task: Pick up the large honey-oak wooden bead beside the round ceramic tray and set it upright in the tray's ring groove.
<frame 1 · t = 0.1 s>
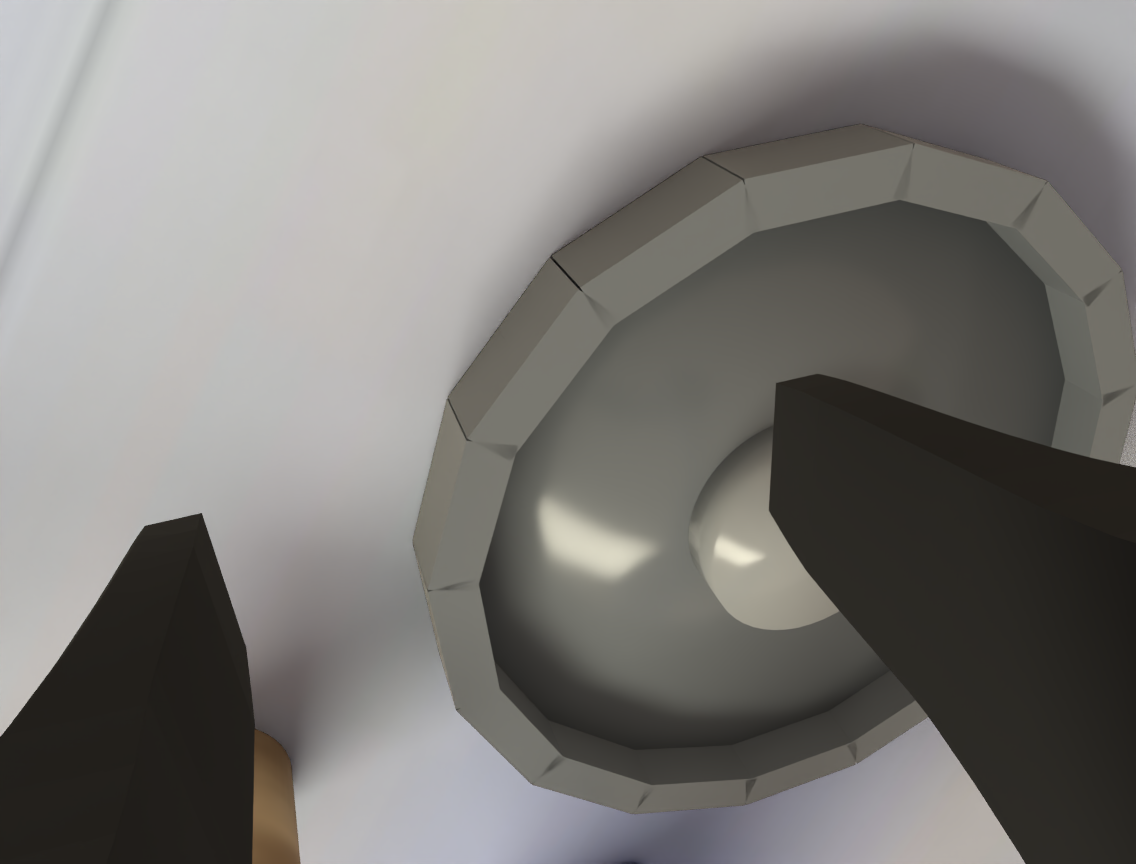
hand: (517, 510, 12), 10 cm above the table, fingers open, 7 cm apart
oak bead: (206, 784, 25), on the table
round tray: (776, 499, 27), on the table
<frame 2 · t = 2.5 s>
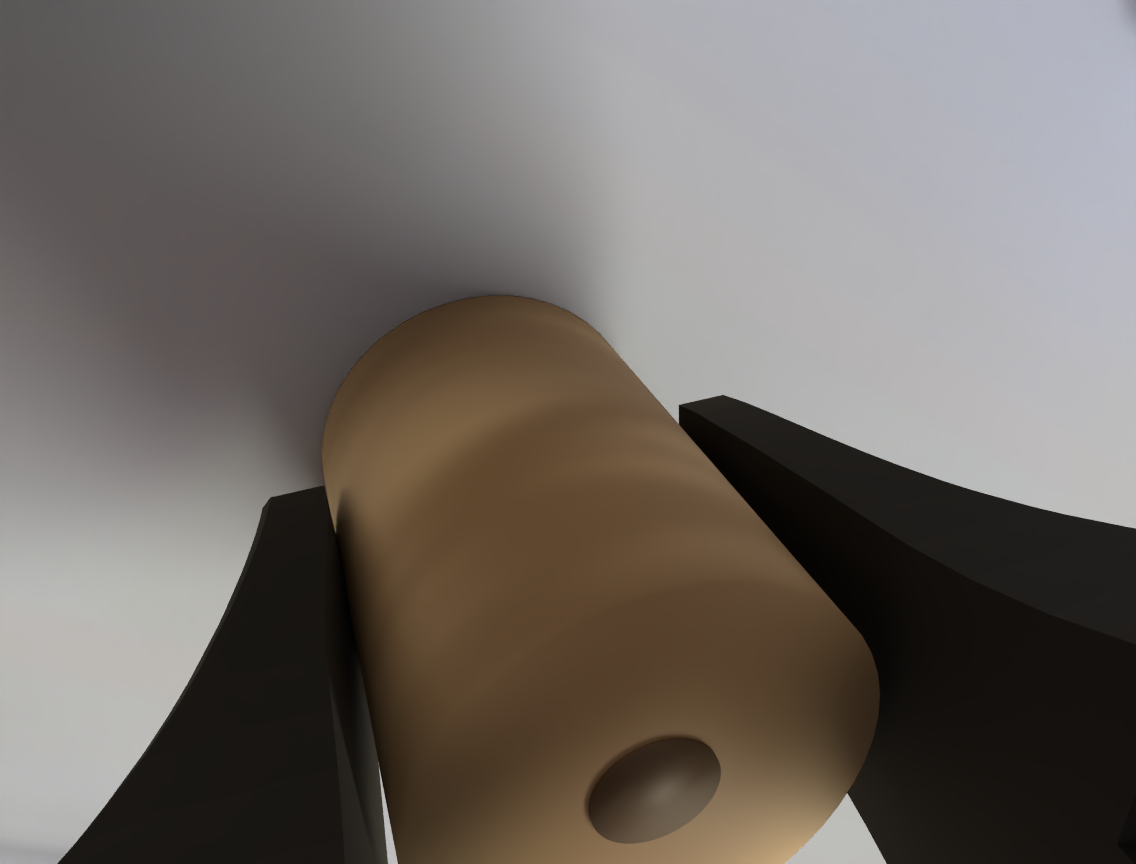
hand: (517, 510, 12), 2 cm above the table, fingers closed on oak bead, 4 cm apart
oak bead: (485, 446, 13), on the table, touching gripper
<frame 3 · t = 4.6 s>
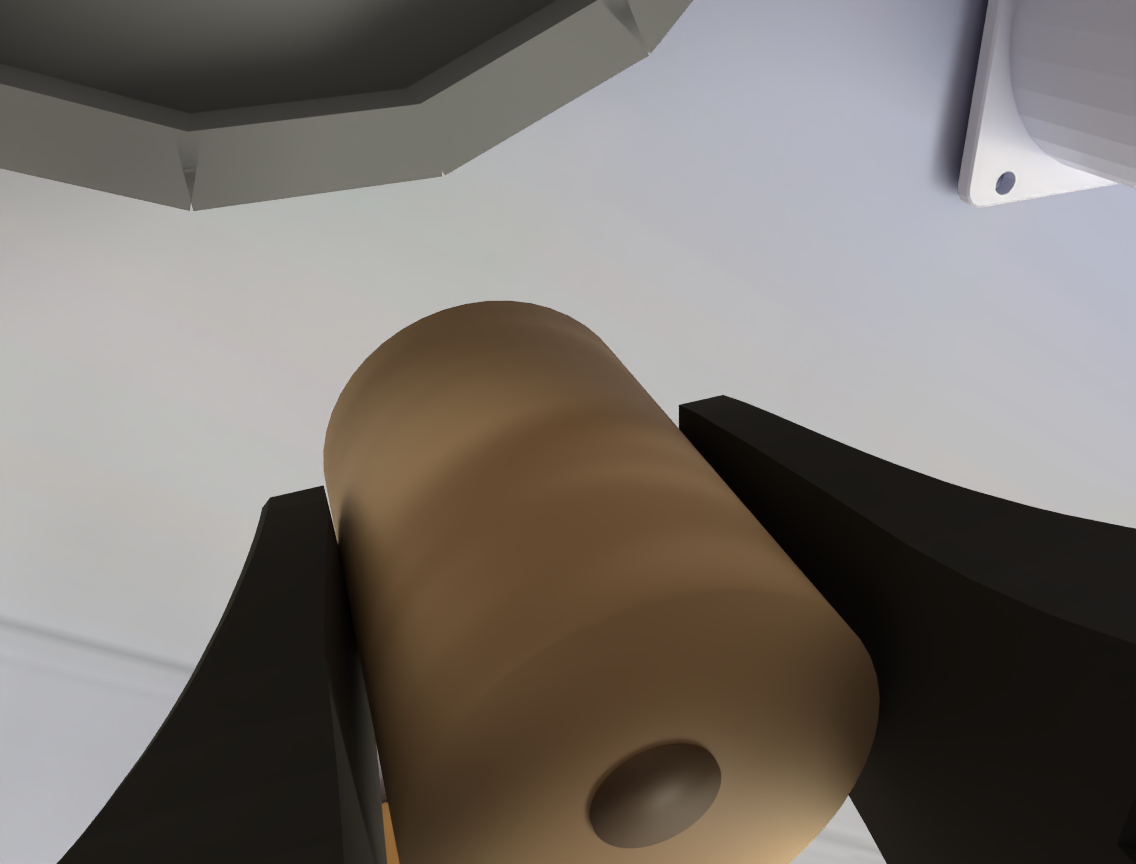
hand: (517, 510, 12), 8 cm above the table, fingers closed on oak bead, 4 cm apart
oak bead: (486, 450, 13), point 7 cm above the table, touching gripper
figurine: (401, 832, 27), on the table
when the fingers open (4 cm above the table, at t = 7.1 s): oak bead drops 2 cm, resting on round tray.
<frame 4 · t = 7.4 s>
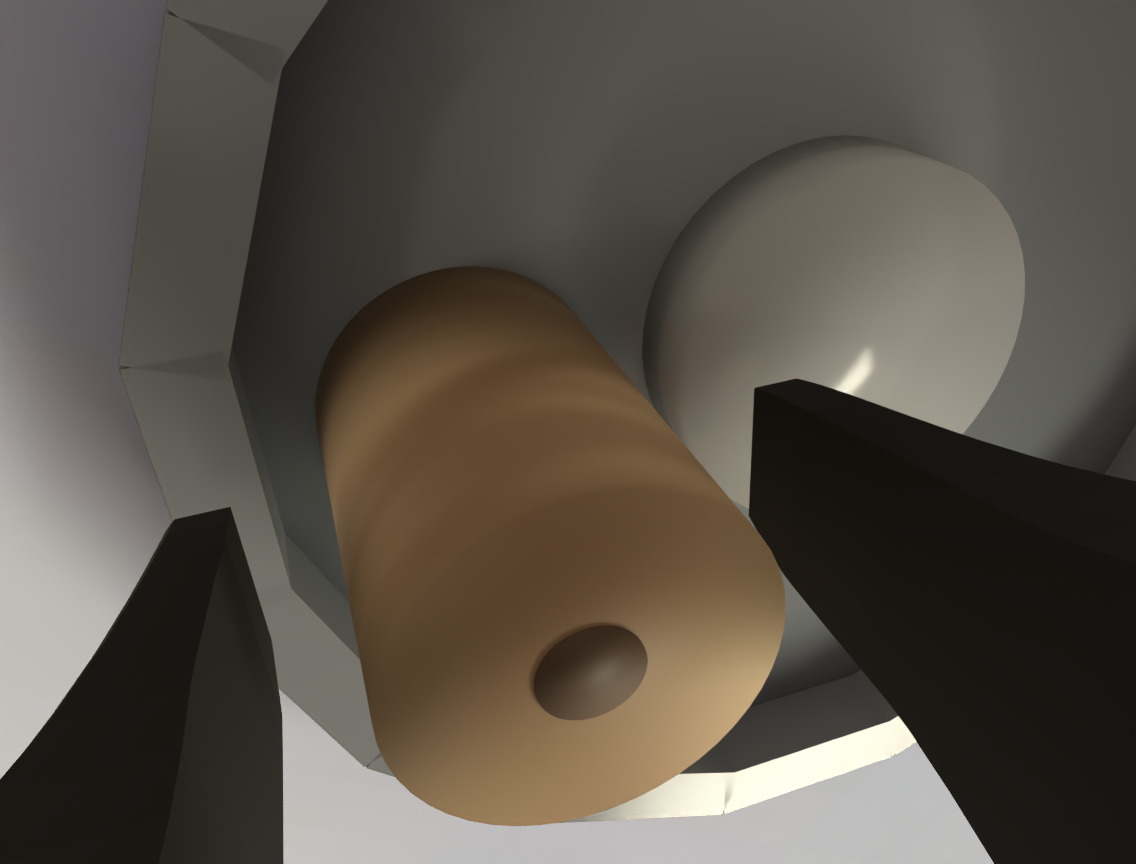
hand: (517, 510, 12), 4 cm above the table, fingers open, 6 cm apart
oak bead: (462, 403, 14), point 1 cm above the table, touching round tray
round tray: (790, 305, 16), on the table
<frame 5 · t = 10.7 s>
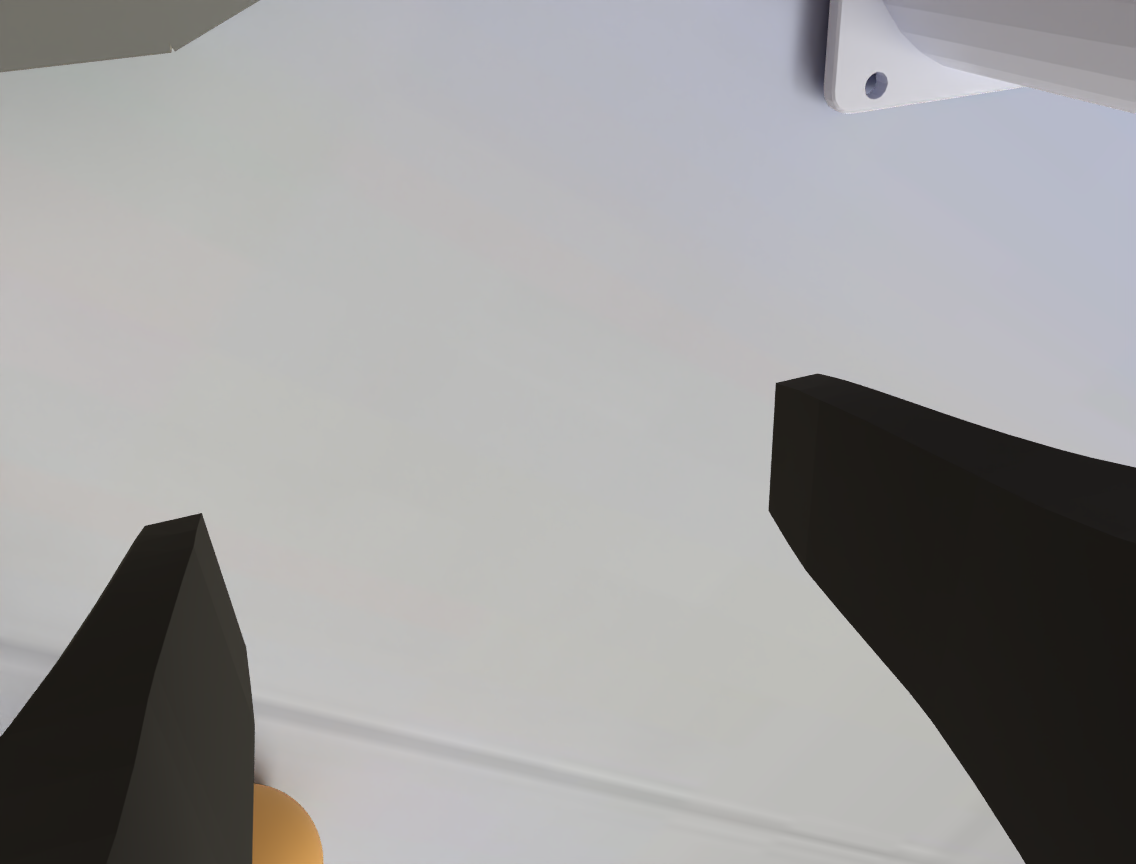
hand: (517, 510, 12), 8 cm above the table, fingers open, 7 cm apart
figurine: (257, 818, 25), on the table
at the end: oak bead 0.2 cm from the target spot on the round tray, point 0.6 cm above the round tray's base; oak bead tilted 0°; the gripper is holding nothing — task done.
